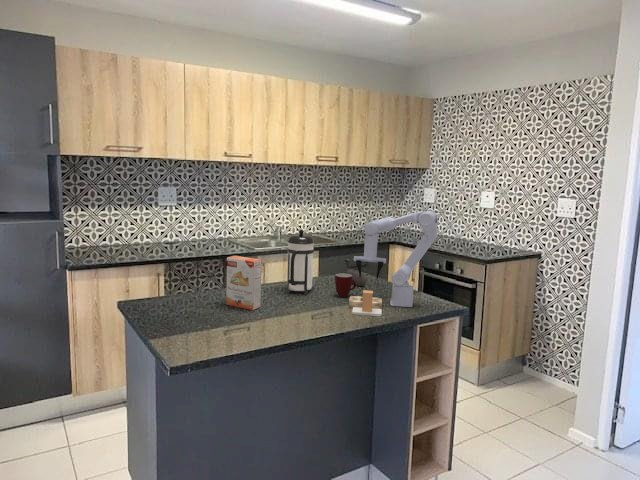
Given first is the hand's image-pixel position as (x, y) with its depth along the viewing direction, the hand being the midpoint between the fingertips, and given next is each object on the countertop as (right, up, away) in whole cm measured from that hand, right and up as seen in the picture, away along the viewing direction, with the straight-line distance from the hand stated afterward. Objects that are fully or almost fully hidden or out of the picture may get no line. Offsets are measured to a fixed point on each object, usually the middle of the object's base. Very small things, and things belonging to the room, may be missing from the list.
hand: (368, 277), depth 216 cm
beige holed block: (-2, -12, -9) cm, 15 cm away
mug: (-10, -9, +7) cm, 16 cm away
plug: (-3, -12, -19) cm, 22 cm away
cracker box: (-55, -11, -16) cm, 58 cm away
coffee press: (-32, -8, +10) cm, 35 cm away
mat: (-3, -13, -19) cm, 23 cm away
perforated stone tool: (-3, -6, +30) cm, 31 cm away
